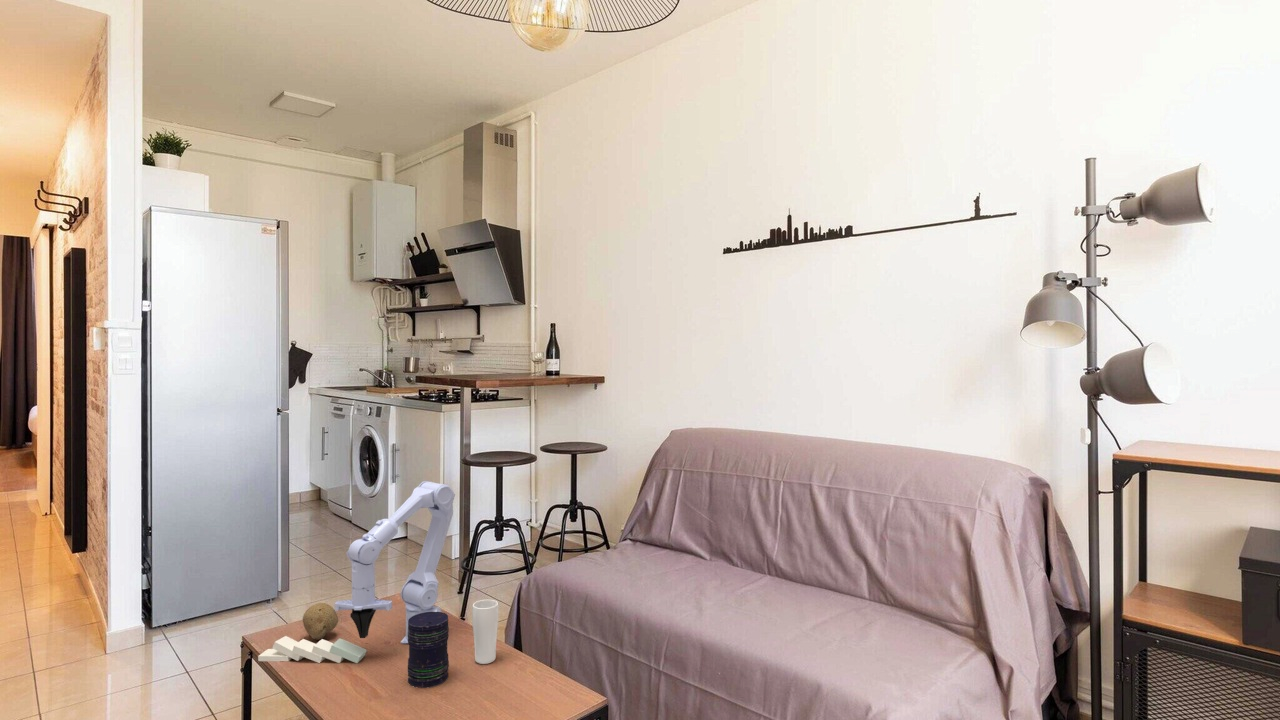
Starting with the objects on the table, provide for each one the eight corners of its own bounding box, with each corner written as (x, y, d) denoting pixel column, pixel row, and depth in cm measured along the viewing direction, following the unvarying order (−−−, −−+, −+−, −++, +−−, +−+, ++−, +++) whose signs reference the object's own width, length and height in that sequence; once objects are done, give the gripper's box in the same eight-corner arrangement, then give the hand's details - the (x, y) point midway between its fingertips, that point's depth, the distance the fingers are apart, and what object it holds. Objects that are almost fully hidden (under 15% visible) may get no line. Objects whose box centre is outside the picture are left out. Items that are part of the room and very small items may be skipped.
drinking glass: (485, 668, 173) (485, 610, 173) (466, 662, 177) (466, 605, 177) (503, 658, 179) (503, 602, 179) (485, 652, 183) (485, 597, 183)
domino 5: (367, 649, 181) (339, 638, 181) (359, 657, 176) (331, 645, 176) (364, 656, 181) (337, 644, 181) (357, 663, 176) (329, 651, 176)
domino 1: (297, 649, 182) (267, 648, 182) (288, 656, 177) (258, 656, 178) (297, 655, 182) (267, 655, 182) (288, 663, 177) (258, 662, 178)
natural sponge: (330, 629, 198) (330, 595, 198) (343, 638, 192) (343, 603, 192) (298, 638, 192) (298, 603, 192) (309, 648, 185) (309, 611, 185)
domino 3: (330, 649, 181) (303, 638, 181) (322, 656, 176) (294, 645, 177) (328, 655, 181) (300, 645, 181) (319, 663, 176) (291, 652, 177)
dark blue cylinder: (406, 673, 171) (406, 614, 171) (446, 666, 175) (446, 609, 175) (409, 691, 162) (409, 629, 161) (451, 683, 165) (451, 623, 165)
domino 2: (310, 648, 181) (285, 635, 182) (300, 654, 177) (274, 641, 178) (308, 654, 181) (283, 641, 183) (297, 661, 177) (272, 648, 178)
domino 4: (349, 649, 181) (322, 638, 181) (341, 656, 176) (313, 646, 177) (347, 655, 181) (319, 645, 181) (339, 663, 176) (311, 652, 177)
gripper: (329, 591, 174) (329, 643, 175) (385, 590, 174) (385, 643, 175) (341, 581, 181) (341, 631, 182) (394, 581, 181) (395, 631, 182)
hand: (363, 636), depth 179 cm, fingers closed
